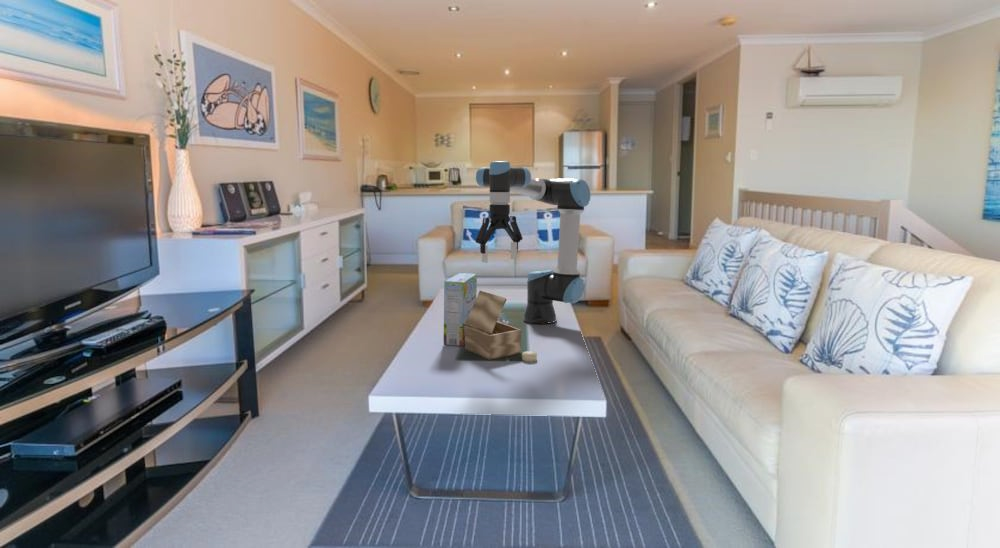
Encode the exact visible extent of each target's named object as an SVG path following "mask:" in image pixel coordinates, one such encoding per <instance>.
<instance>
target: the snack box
mask: <svg viewBox="0 0 1000 548" xmlns="http://www.w3.org/2000/svg"><path fill="white" fill-rule="evenodd" d="M477 279H478V275H477V273H463V272H459V273H457V274H455V275H453V276H451V277H449V278H447V280H445V281H444V282H443V283H444V286H443V287H444V288H443V290H444V291H443V293H444V294H443V296H444V297H443V299H444V300H443V346H444V345H446V346H454V347H463V346H465V324H466V323H465V322H466V320H467V318H468V316H469V314H470V311H471V309H472V307H473V305H474V303H475V300H476V298H477V291H478V290H477V287H478V286H477V285H478V283H477V282H478V280H477ZM467 325H469V324H467ZM470 326H471V325H470Z"/></svg>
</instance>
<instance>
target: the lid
mask: <svg viewBox="0 0 1000 548" xmlns="http://www.w3.org/2000/svg"><path fill="white" fill-rule="evenodd" d="M506 302H507V298H506V297H503V296H500V295H497V294H493V293H490V292H486V291H483V290H479V291H478V294H477V295H476V300H475V303H474V305H473V307H472V309H471V311H470V314H469V316H468V318H467V320H466V322H465V323H466V324H465V326H467V327H470V328H472V329H475V330H478V331H480V332H483V333H485V334H488V335H491V333H492V331H493V329H494V327H495V325H496V322H497V321H498V320H499V317H500V316H501V313H502V311H503V309H504V306H505V304H506ZM467 324H469V325H467ZM470 325H472V326H470ZM473 326H474V327H473ZM475 327H477V328H475ZM478 328H479V329H478ZM480 329H482V330H480ZM483 330H485V331H487V332H485V331H483ZM488 332H490V333H488Z"/></svg>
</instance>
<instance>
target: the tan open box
mask: <svg viewBox="0 0 1000 548" xmlns="http://www.w3.org/2000/svg"><path fill="white" fill-rule="evenodd" d="M471 326H472V325H471ZM473 327H474V326H473ZM475 328H477V327H475ZM478 329H479V328H478ZM480 330H482V329H480ZM483 331H485V330H483ZM485 332H487V331H485ZM488 333H490V332H488ZM464 349H465V350H466V351H468V352H470V353H473V354H475V355H477V356H479V357H481V358H483V359H486V360H489V361H491V360H495V359H500V358H505V357H508V356H509V357H510V356H513V355H518V354H521V353H522V329H520V328H517V327H514V326H511V325H508V324H506V323H503V322H500V321H498V320H497V322H496V325H495V327H494V329H493V331H492V333H491V335H488V334H485V333H483V332H480V331H478V330H475V329H472V328H470V327H467V326H465V344H464Z"/></svg>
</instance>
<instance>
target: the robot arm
mask: <svg viewBox="0 0 1000 548" xmlns="http://www.w3.org/2000/svg"><path fill="white" fill-rule="evenodd" d="M475 182H476V183H477V185H478V186H479V187H485V188H487V187H488V188H489V203H490V204H489V214H490V216H489V217H483V218H482V223H481V226H480V229H479V231H478V234H477V235H476V236H477V237H476V239H475V243H476V244H478V245H480V247H479V250H480V251H479V252H480V254H481V262H482V263H488V262H489V258H488V256H489V250H488V249H489V245H488V244H487V243H488V241H490V239H491V237H492V236H493V234H494V232H495V231H496V230H501V229H502V230H504V231H505V232H506V234H508V237H509V238H510V239H511V242H510V260H511V259H512V260H518V258H517V257H518V255H517V254H518V252H517V251H518V250H519V243H520V242H521V241H522V240H523V236H522V233H521V231H520V228H519V226H518V223H517V216H514V215H510V214H511V206H510V202H511V193H515V194H518V195H523V196H527V197H529V198H530V199H531V200H535V201H537V202H540V203H544V204H548V205H550V206H557V208H556V210H557V211H558V212H559V216H560V217H559V235H558V249H557V252H558V253H557V267H556V268H555V269H554V271H553V270H552V269H545V270H544V269H542V270H536V271H530V272H529V273H528V274H527V281H526V282H527V288H526V289H527V292H526V295H527V300H526V303H527V304H526V306H525V310H524V314H523V322H525V323H529V324H533V323H548V322H553V321H555V320H556V321H557V315H556V311H555V308H554V303H553V302H554V301H555V302H561V303H565V304H576V303H577V302H579V301H580V299H581V298H582V297H583V294H584V293H585V288H586V287H585V280H584V278H583V277H580V276H581V275H580V274H581V273H580V271H579V270H578V258H579V257H578V256H579V255H578V253H579V238H580V237H579V236H580V227H581V226H580V222H581V214H582V213H583V212H584V211H585V207H587V206H588V205H589V204H590V202H591V190H590V186H589V185H588V182H586V180H584V179H582V178H581V179H580V178H541V177H540V178H539V177H536V178H532V174H531V172H530V170H529V169H528V168H526V167H524V166H523V167H522V166H511V164H510V161H508V160H507V161H506V160H505V161H504V160H503V161H502V160H500V161H498V160H495V161H491V162H490V163H489V167H487V166H485V167H484V166H483V167H480V168H478V170H477V171H476V173H475ZM509 215H510V216H509ZM509 223H510V224H509ZM556 321H555V322H556ZM553 323H554V322H553Z"/></svg>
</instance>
